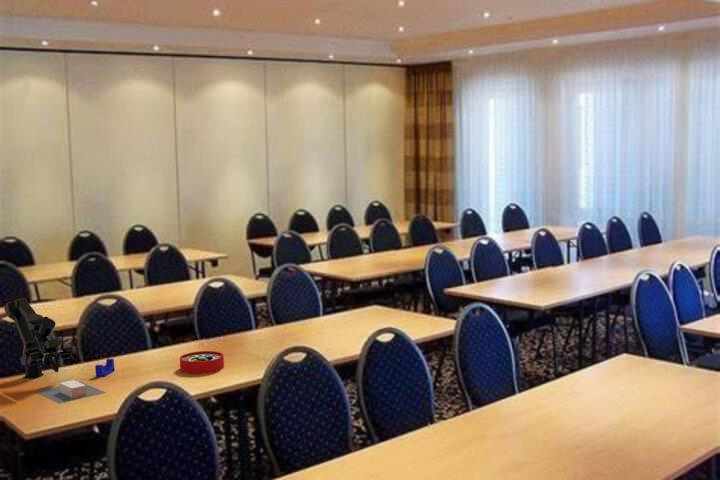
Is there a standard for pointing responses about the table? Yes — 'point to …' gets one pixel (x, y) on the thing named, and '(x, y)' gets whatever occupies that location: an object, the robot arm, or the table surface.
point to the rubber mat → (62, 398)
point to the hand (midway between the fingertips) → (57, 371)
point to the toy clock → (201, 362)
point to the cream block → (73, 389)
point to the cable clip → (105, 368)
